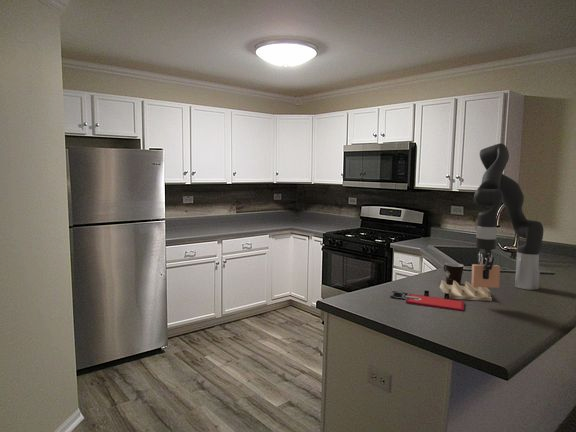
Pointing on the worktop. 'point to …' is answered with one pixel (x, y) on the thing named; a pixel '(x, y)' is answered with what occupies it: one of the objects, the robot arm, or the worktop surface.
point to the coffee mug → (453, 272)
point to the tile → (480, 282)
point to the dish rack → (466, 291)
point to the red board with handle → (431, 300)
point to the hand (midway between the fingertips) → (484, 277)
